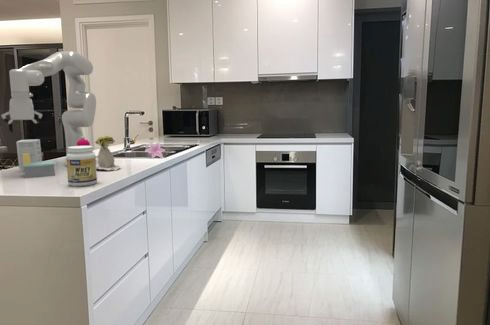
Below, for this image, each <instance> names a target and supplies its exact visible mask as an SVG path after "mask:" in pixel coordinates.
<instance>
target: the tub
mask: <svg viewBox="0 0 490 325" xmlns="http://www.w3.org/2000/svg"><path fill="white" fill-rule="evenodd" d="M55 171H56V170H55V165H48V166H35V167H24V172H23V173H24V178H25V179H30V178H31V179H32V178H42V177H54V176H56V172H55Z"/></svg>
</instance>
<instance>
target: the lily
mask: <svg viewBox="0 0 490 325" xmlns="http://www.w3.org/2000/svg"><path fill="white" fill-rule="evenodd" d="M148 145H149V147H148V148H147V149H145V150H144V152H146V153H149V154H151V159H154V158H155V157H156V156H157V157H159V158H161V159H163V158H164V156H163V153H162V152H165V151H166V149H165V148H162V147H161V142H160V141H158V142H156V143H155V144H152V143H150V142H149V144H148Z"/></svg>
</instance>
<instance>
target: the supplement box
mask: <svg viewBox="0 0 490 325" xmlns="http://www.w3.org/2000/svg"><path fill="white" fill-rule="evenodd" d="M41 146H42V145H41V139H39V138H38V139H37V138H36V139H20V140H18V141H16V151H17V154H16V155H17V160H18V162H17V163H18V170H19V173H24V167H23V154H24V153H30V162H43V156H42V147H41Z"/></svg>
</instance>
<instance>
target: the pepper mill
mask: <svg viewBox="0 0 490 325" xmlns="http://www.w3.org/2000/svg"><path fill="white" fill-rule="evenodd" d="M85 138H86V137H85V136H84V135H83V136H82V137H81V140H79V141H78V142H77V146H91V144H90V143H91V142H90V141H89V140H88V139H85Z"/></svg>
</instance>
